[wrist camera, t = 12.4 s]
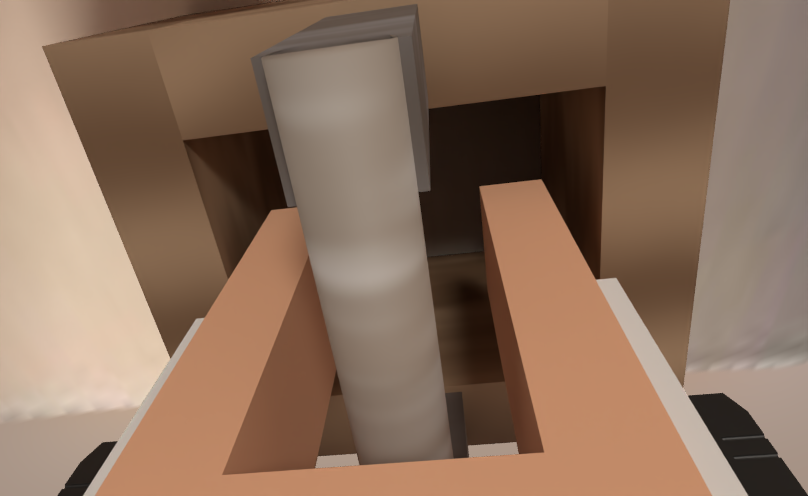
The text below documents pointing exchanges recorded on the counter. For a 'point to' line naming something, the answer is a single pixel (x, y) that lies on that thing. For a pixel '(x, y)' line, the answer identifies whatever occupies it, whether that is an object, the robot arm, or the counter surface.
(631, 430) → the block
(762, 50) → the counter surface
